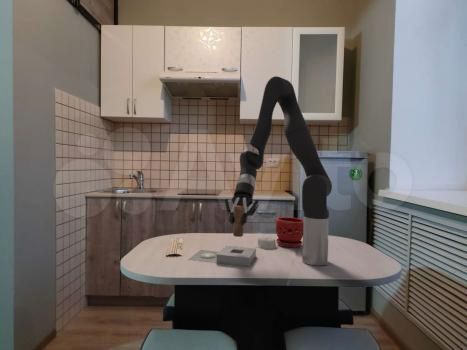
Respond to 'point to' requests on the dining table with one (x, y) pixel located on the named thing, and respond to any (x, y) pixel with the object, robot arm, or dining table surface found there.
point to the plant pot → (289, 231)
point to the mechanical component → (266, 243)
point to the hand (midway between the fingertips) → (237, 223)
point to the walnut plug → (238, 221)
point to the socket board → (227, 256)
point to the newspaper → (175, 246)
